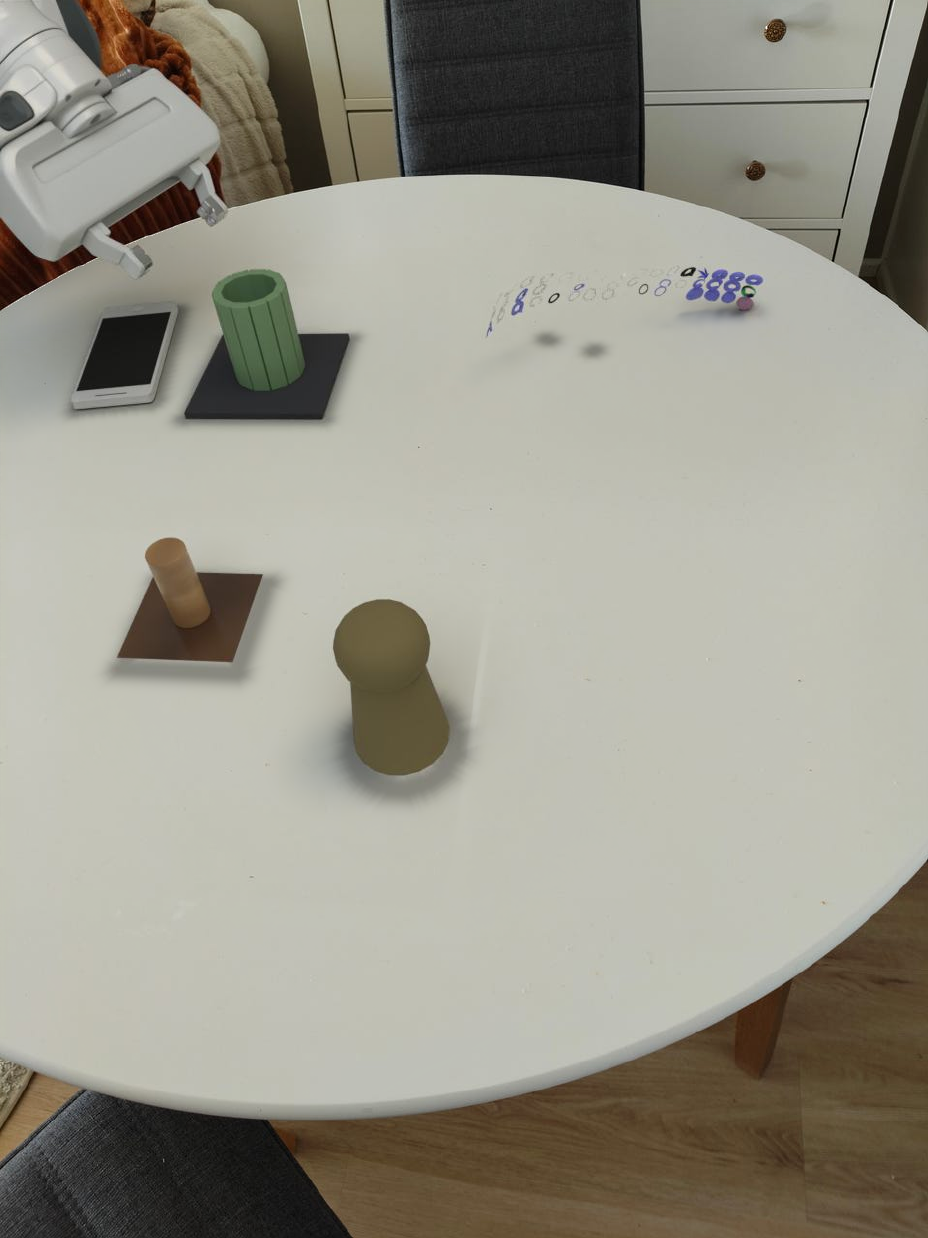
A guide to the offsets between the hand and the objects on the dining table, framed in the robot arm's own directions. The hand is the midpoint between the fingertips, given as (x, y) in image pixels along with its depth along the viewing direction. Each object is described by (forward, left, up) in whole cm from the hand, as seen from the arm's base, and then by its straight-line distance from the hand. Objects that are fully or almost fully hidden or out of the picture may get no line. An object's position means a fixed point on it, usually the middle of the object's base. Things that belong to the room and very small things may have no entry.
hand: (184, 244), depth 82 cm
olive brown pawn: (+23, -40, -11) cm, 48 cm away
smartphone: (-9, +1, -11) cm, 14 cm away
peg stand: (+7, -31, -11) cm, 34 cm away
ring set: (+36, +4, -11) cm, 38 cm away
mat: (+5, -2, -11) cm, 13 cm away
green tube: (+5, -2, -11) cm, 12 cm away
